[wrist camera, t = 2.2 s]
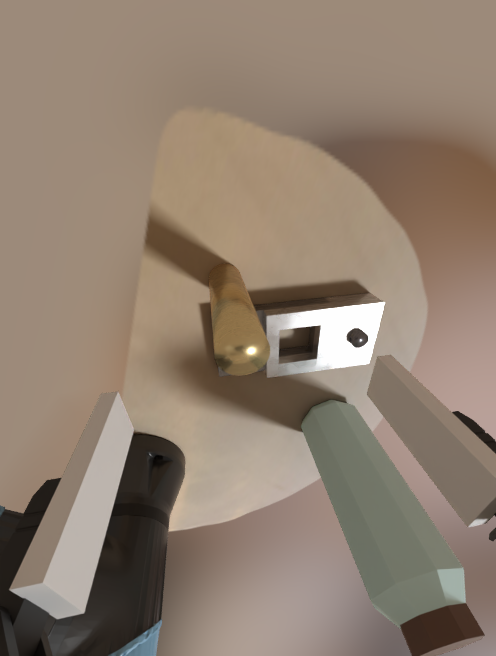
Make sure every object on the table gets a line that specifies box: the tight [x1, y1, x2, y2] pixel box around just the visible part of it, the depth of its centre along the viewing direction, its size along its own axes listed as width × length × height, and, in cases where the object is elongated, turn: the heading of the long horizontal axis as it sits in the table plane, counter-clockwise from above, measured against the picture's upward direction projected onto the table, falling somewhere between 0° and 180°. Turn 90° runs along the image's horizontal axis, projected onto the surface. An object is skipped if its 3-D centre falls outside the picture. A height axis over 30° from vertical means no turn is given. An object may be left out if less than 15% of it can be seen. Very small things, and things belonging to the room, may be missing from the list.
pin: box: [209, 264, 270, 376], centre depth 22 cm, size 4×4×14 cm
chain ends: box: [211, 293, 385, 378], centre depth 32 cm, size 20×9×4 cm, turn 93°
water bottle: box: [301, 400, 485, 656], centre depth 33 cm, size 10×10×25 cm
